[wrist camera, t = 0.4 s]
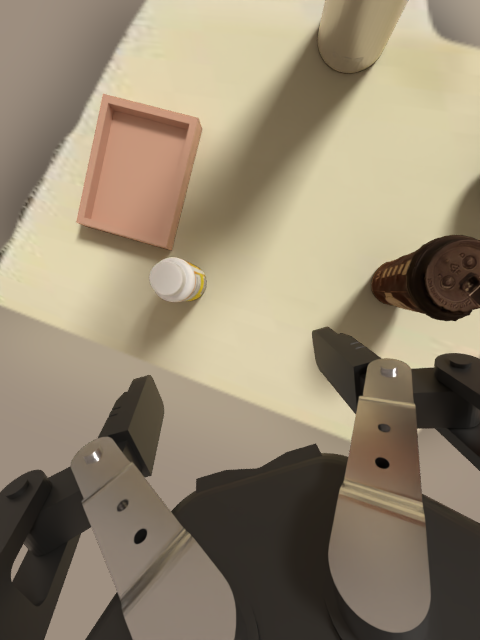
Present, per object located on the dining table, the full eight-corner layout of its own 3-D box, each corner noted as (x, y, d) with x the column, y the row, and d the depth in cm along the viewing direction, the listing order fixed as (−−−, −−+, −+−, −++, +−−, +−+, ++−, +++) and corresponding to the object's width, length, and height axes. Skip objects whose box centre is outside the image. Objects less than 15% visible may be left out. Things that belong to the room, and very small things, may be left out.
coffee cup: (425, 310, 37) (514, 317, 24) (366, 317, 38) (421, 328, 25) (421, 249, 36) (510, 223, 23) (361, 258, 37) (415, 237, 24)
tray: (112, 106, 38) (103, 93, 36) (202, 129, 37) (198, 118, 35) (86, 226, 40) (76, 222, 38) (171, 250, 39) (166, 247, 37)
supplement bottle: (166, 274, 40) (133, 266, 29) (197, 258, 39) (175, 244, 29) (182, 307, 40) (155, 310, 30) (213, 291, 39) (197, 289, 29)
